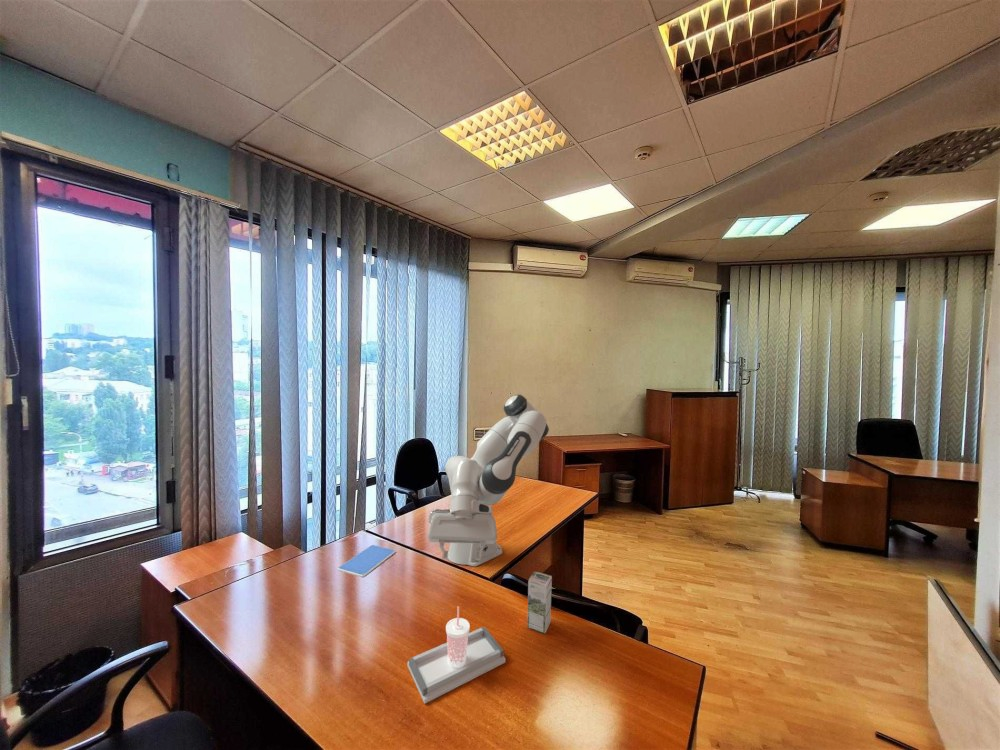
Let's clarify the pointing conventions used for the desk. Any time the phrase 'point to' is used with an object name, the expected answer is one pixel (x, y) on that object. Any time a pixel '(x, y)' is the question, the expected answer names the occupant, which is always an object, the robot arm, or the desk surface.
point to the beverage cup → (457, 641)
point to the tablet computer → (366, 561)
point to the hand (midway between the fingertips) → (461, 558)
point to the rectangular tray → (441, 677)
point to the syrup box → (539, 602)
